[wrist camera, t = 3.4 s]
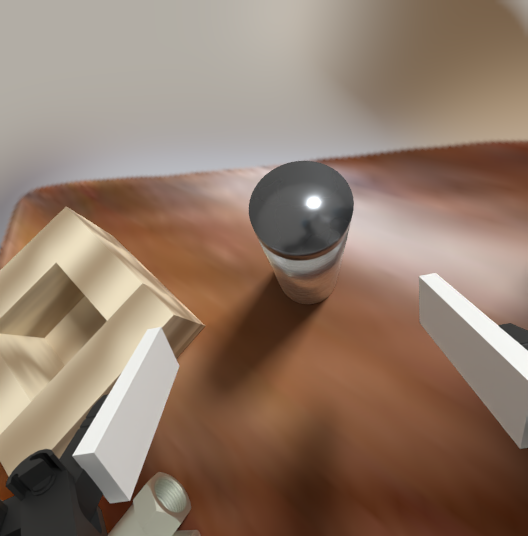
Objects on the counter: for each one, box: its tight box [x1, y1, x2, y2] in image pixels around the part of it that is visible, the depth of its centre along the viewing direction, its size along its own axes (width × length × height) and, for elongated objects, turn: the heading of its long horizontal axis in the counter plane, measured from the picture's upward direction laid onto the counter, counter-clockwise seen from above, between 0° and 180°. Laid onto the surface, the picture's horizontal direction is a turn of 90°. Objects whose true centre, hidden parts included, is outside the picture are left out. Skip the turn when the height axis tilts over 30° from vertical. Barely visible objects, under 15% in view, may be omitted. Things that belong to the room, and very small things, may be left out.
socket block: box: [0, 207, 205, 476], centre depth 24 cm, size 14×14×6 cm
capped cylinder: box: [249, 161, 354, 304], centre depth 20 cm, size 5×5×12 cm
